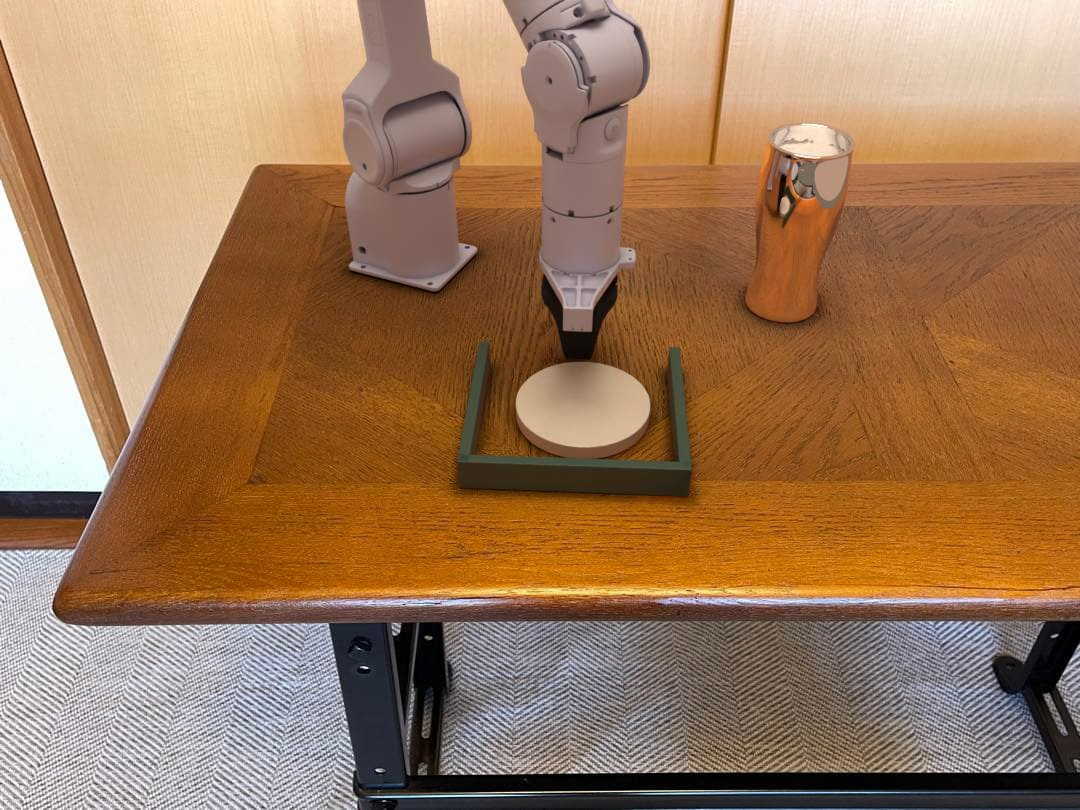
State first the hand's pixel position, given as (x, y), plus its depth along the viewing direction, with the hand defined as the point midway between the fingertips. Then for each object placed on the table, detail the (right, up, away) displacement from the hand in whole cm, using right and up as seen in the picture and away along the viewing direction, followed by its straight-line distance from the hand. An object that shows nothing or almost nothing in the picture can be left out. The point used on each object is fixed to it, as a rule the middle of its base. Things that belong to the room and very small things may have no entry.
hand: (578, 354), depth 74 cm
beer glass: (+18, +5, +7) cm, 20 cm away
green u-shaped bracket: (0, -5, -5) cm, 7 cm away
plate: (0, -5, -4) cm, 6 cm away
